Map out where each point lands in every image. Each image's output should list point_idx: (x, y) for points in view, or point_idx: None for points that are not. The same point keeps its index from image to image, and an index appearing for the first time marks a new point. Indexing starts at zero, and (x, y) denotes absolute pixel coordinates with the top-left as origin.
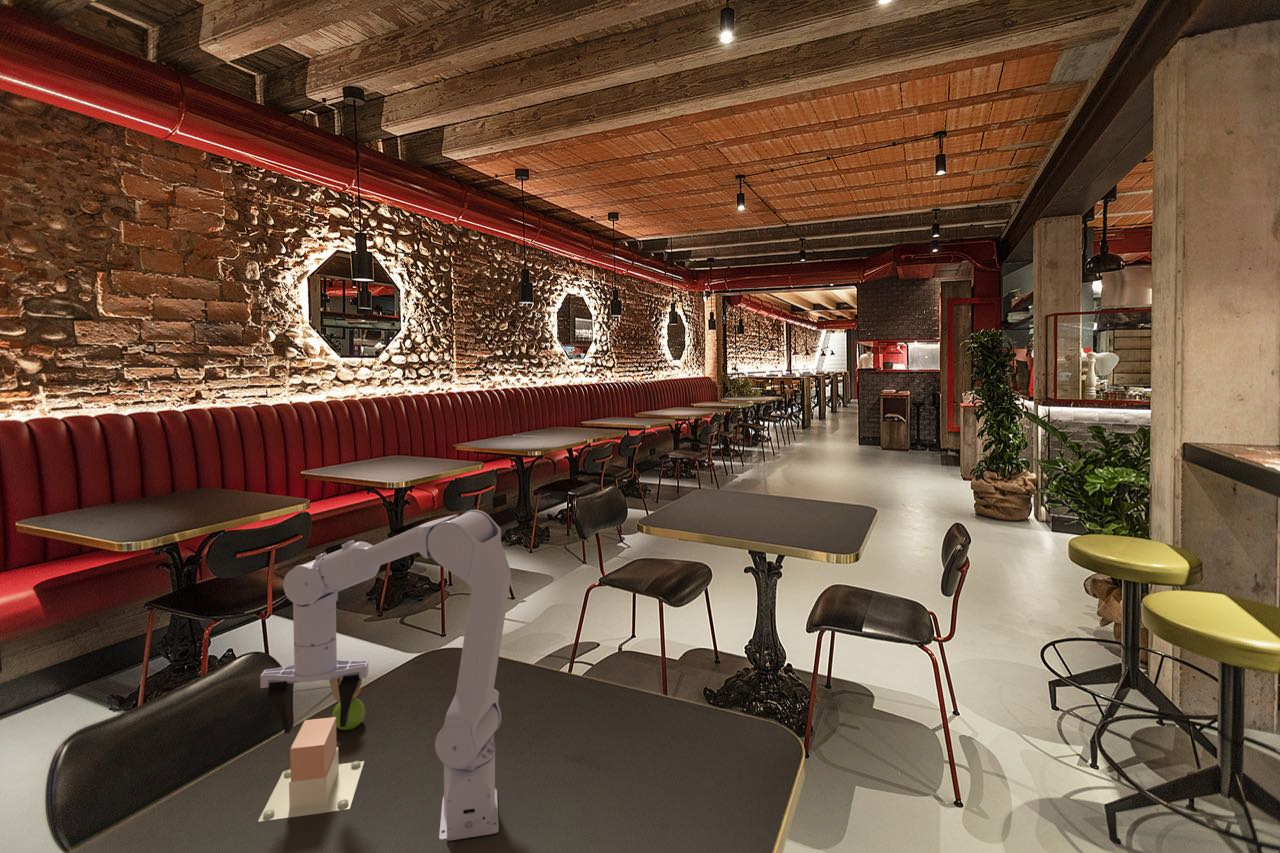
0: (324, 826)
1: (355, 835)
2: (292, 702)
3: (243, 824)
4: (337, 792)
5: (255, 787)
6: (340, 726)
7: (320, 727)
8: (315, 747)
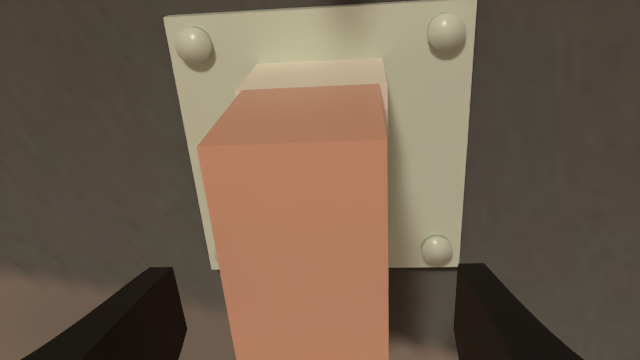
0: (396, 295)
1: None
2: (93, 354)
3: (172, 248)
4: (406, 186)
5: (107, 79)
6: (454, 330)
7: (323, 246)
8: None
